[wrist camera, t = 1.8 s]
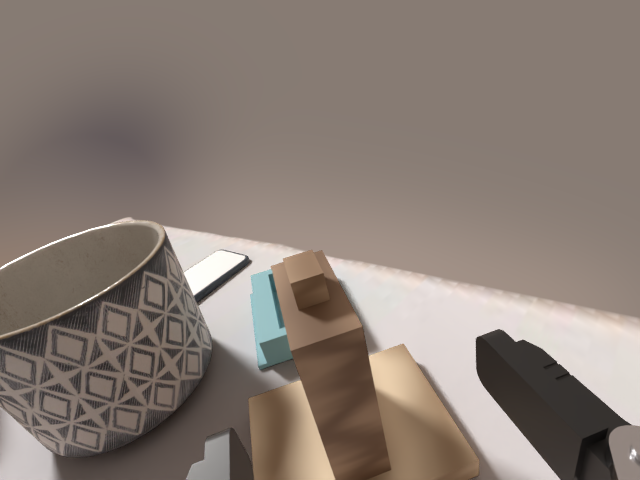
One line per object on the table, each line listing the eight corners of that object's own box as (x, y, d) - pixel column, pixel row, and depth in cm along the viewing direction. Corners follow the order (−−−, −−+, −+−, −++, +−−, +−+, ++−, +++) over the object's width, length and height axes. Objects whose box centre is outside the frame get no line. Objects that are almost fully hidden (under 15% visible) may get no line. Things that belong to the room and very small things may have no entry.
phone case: (222, 255, 66) (145, 306, 56) (219, 247, 65) (140, 298, 55) (254, 263, 61) (175, 321, 50) (251, 255, 60) (171, 313, 50)
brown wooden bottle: (339, 490, 25) (280, 322, 17) (311, 389, 33) (263, 243, 25) (391, 469, 25) (356, 297, 18) (351, 374, 33) (316, 227, 26)
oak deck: (267, 562, 24) (258, 549, 23) (254, 411, 34) (248, 398, 33) (478, 475, 26) (479, 459, 25) (405, 357, 36) (403, 343, 35)
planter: (145, 494, 30) (28, 358, 22) (4, 452, 36) (-124, 336, 29) (249, 329, 45) (202, 215, 37) (136, 321, 52) (77, 223, 44)
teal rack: (259, 369, 39) (250, 346, 37) (251, 297, 51) (243, 277, 49) (361, 334, 40) (356, 310, 38) (329, 272, 52) (324, 252, 51)
